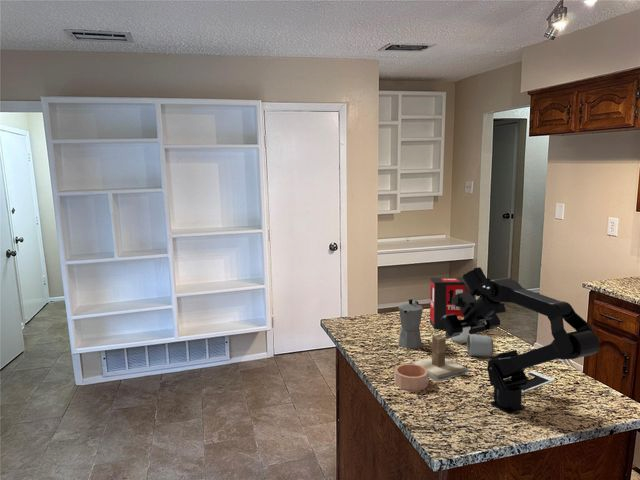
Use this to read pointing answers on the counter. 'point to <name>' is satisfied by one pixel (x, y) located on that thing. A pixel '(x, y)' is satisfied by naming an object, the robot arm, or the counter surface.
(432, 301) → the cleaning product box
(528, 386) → the cell phone
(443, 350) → the square lid with knob
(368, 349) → the counter surface
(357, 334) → the counter surface
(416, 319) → the coffeepot
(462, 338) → the lidded jar
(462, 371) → the rubber mat
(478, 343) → the ceramic mug
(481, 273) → the robot arm
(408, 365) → the terracotta bowl
